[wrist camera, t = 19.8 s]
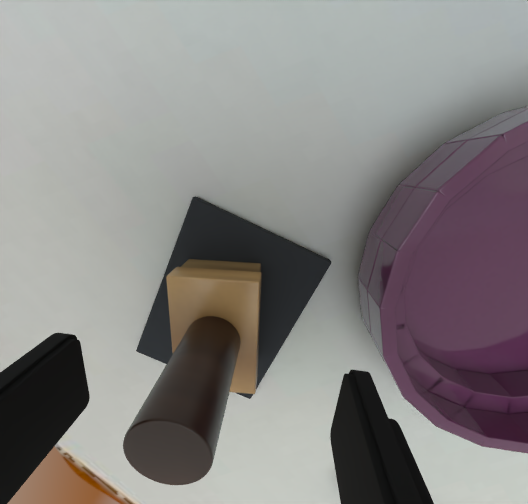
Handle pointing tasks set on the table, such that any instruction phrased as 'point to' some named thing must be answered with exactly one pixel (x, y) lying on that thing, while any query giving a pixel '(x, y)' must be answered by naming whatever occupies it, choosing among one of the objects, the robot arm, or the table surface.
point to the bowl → (458, 284)
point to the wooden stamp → (198, 369)
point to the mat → (240, 250)
